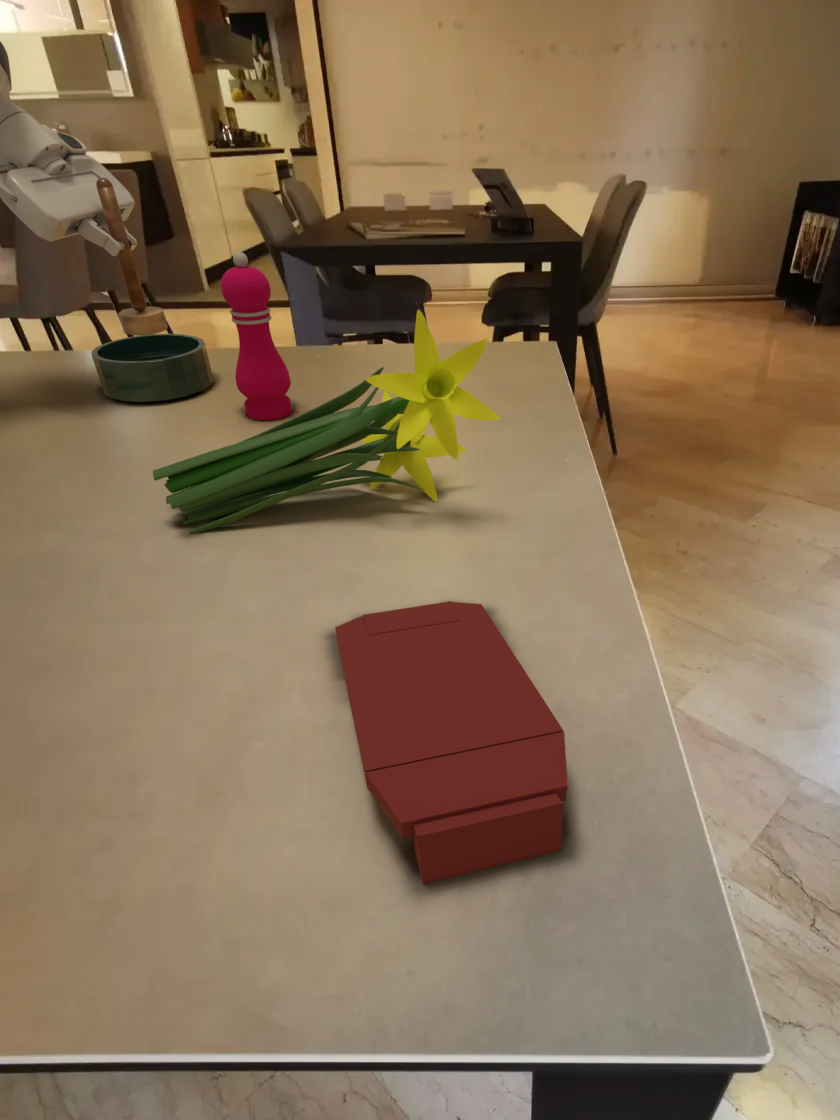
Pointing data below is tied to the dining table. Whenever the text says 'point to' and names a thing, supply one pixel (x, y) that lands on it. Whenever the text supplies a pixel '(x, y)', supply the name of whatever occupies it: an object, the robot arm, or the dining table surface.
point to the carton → (454, 737)
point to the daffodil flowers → (337, 441)
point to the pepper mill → (256, 343)
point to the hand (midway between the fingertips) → (127, 249)
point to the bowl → (153, 367)
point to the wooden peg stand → (129, 271)
